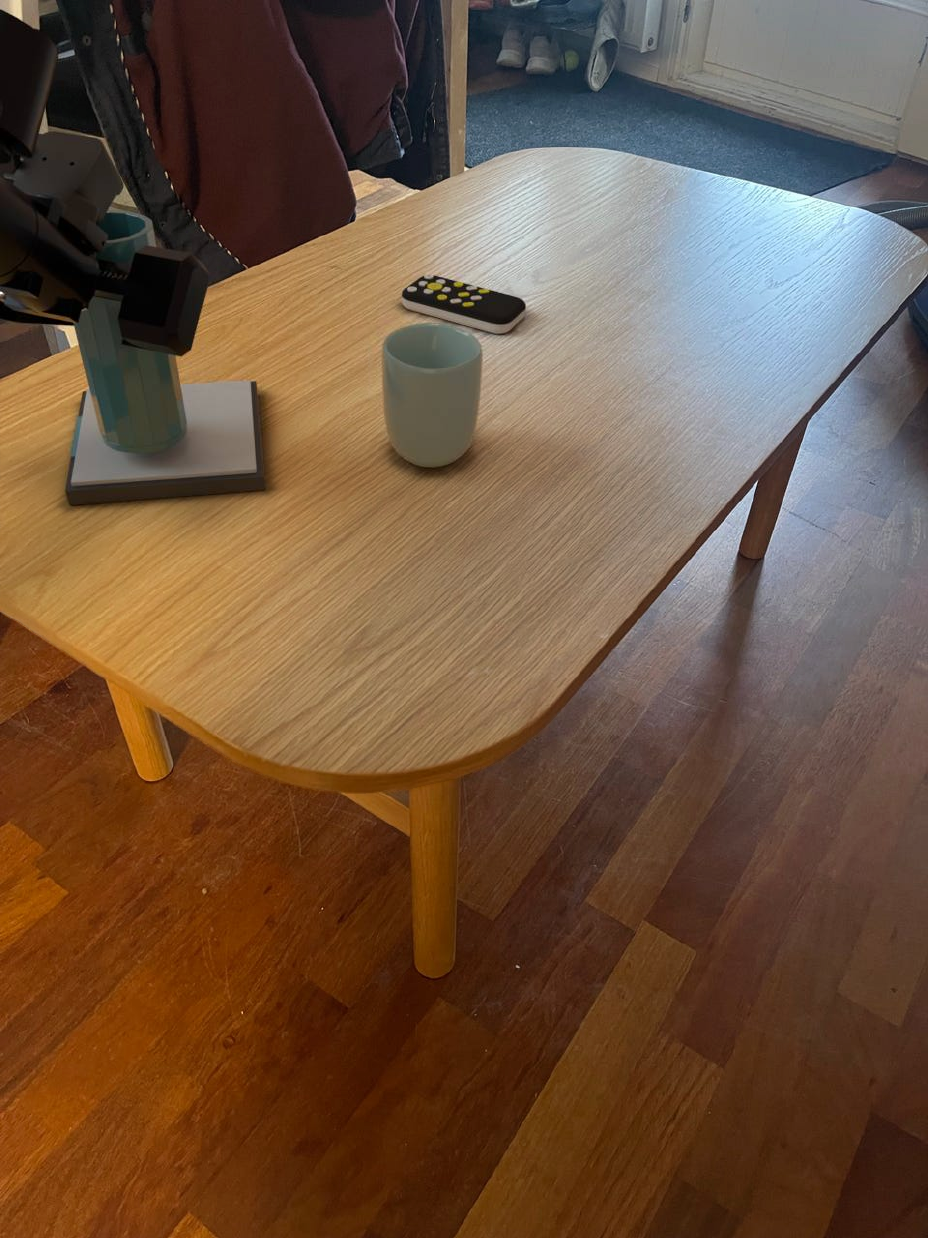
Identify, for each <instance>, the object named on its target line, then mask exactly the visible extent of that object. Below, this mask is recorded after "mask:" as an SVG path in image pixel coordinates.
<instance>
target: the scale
mask: <svg viewBox="0 0 928 1238" xmlns="http://www.w3.org/2000/svg"><path fill="white" fill-rule="evenodd" d="M180 385H181V391H182V397H183V403H184V408H185V414H186V420H187V426H188V430H187V433H186V435H185V437H184V438H183V439H182V440H181V441H180V442H178V443H177V444H175V445H173V446H171V447H169V448H166V449H163V450H160V451H156V452H150V453H125V452H120V451H117V450H114V449H112V448H110V447H108V446H107V445H106V444H105V443H104V442H103V440H102V436H101V434H100V430H99V426H98V422H97V418H96V414H95V410H94V406H93V402H92V398H91V393H90V389H89V388H88V389H86V390H83V391H82V393H81V397H80V398H81V400H80V405H79V409H78V414H77V415H78V416H77V417H76V421H75V426H74V427H75V428H74V433H73V439H72V444H71V449H70V455H69V457H70V460H69V466H68V471H67V476H66V482H65V489H64V494H65V497H66V500H67V503H68V505H69V506H77V505H91V504H103V503H116V502H129V501H143V500H153V499H166V498H179V497H181V498H182V497H194V496H205V495H220V494H221V495H222V494H233V493H246V492H257V491H258V492H259V491H265V490H266V481H265V465H264V455H263V453H264V452H263V442H262V429H261V428H262V427H261V416H260V404H259V403H260V402H259V401H260V400H259V390H258V382H257V381H256V380H253V381H252V380H251V379H248V380H246V379H245V380H229V381H228V380H227V381H212V382H211V381H209V382H196V383H195V382H194V383H180Z"/></svg>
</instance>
